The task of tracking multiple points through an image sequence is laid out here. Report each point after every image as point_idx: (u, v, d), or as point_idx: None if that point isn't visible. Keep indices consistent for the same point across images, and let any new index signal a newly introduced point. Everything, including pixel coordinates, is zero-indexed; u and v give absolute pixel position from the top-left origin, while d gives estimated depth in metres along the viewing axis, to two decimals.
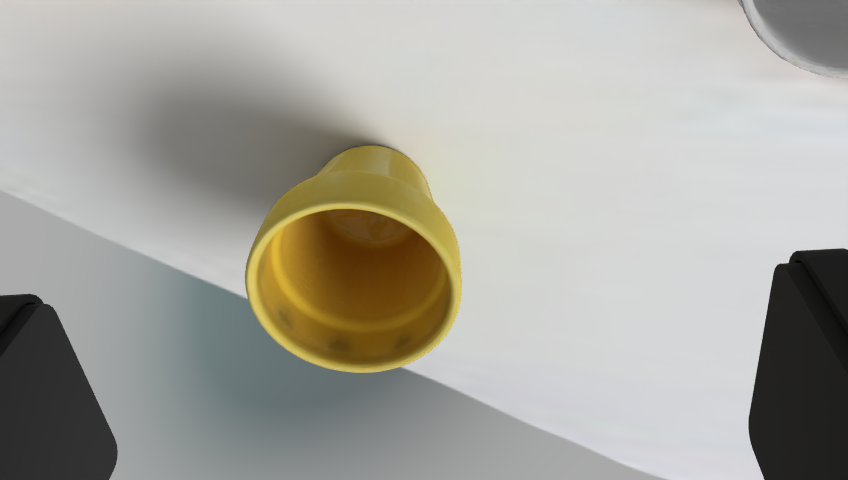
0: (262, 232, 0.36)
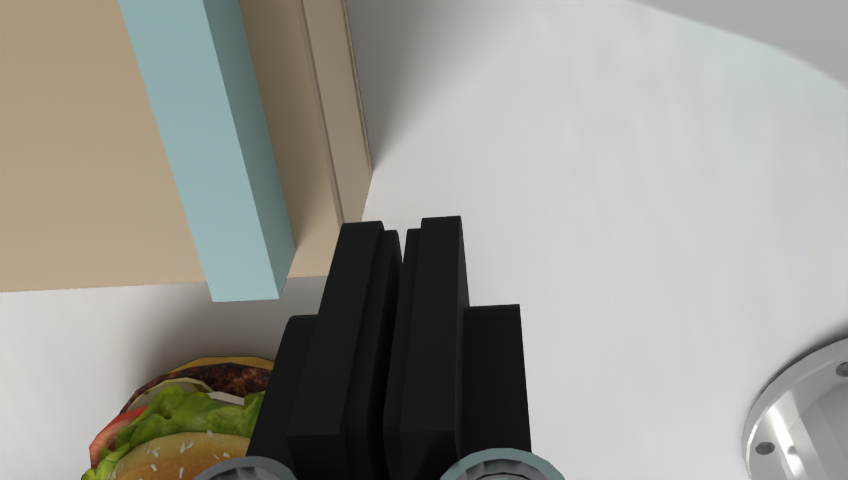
0: None
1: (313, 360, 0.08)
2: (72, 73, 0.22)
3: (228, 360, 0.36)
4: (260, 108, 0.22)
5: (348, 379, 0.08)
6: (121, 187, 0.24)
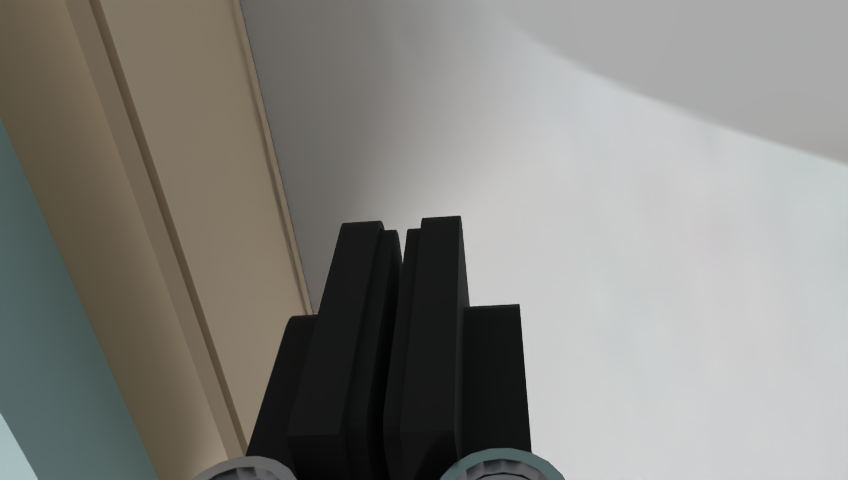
0: None
1: (313, 360, 0.08)
2: None
3: None
4: (92, 352, 0.13)
5: (348, 379, 0.08)
6: None
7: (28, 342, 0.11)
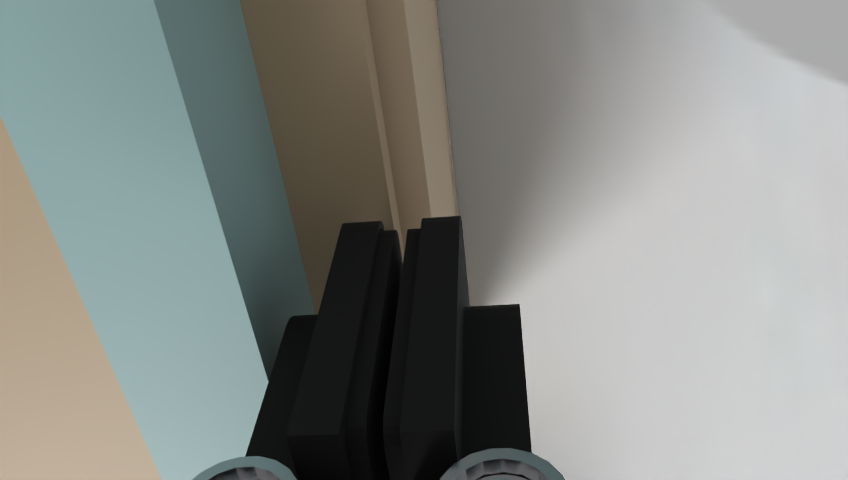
0: None
1: (314, 360, 0.08)
2: None
3: None
4: None
5: (348, 379, 0.08)
6: (83, 441, 0.15)
7: None
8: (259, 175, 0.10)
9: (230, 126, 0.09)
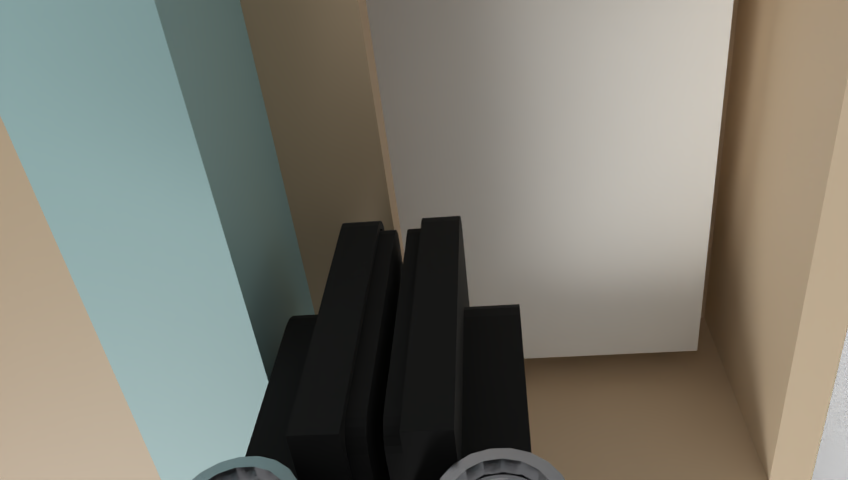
0: None
1: (313, 360, 0.08)
2: None
3: None
4: None
5: (349, 380, 0.08)
6: (83, 440, 0.15)
7: None
8: (259, 175, 0.10)
9: (231, 125, 0.09)
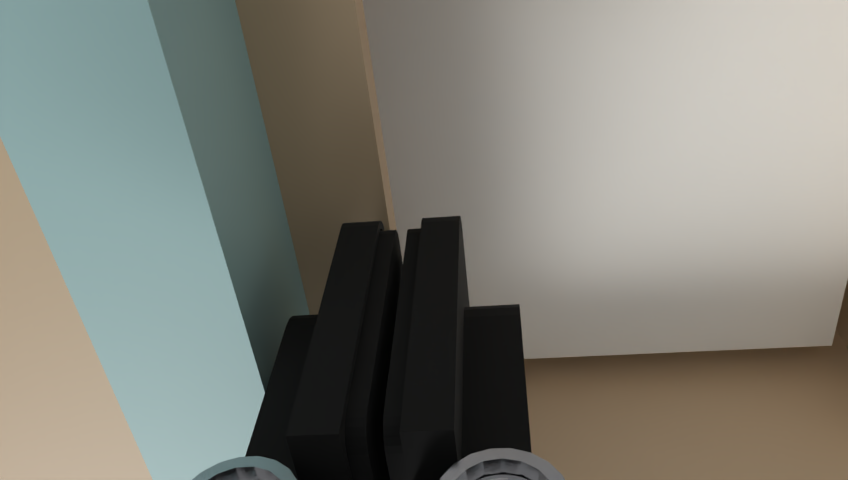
0: None
1: (313, 360, 0.08)
2: None
3: None
4: None
5: (348, 379, 0.08)
6: (75, 440, 0.14)
7: (279, 330, 0.11)
8: (253, 173, 0.10)
9: (224, 122, 0.09)
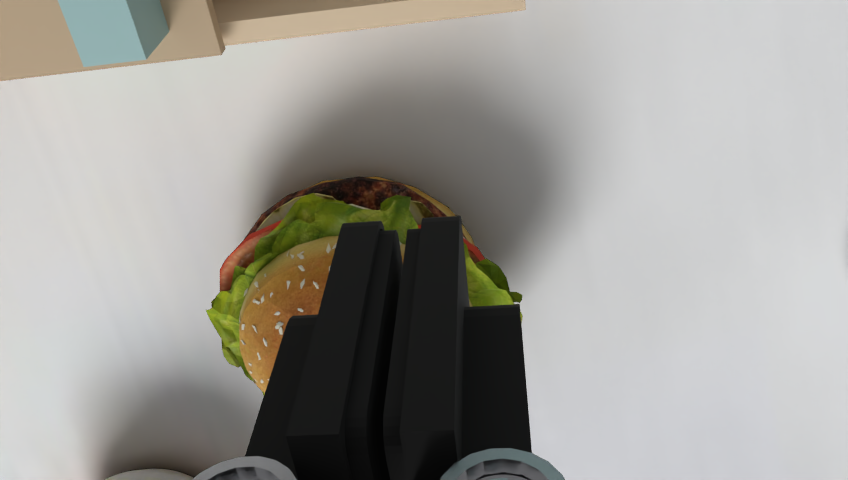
0: None
1: (313, 360, 0.08)
2: None
3: None
4: None
5: (348, 380, 0.08)
6: None
7: None
8: None
9: None
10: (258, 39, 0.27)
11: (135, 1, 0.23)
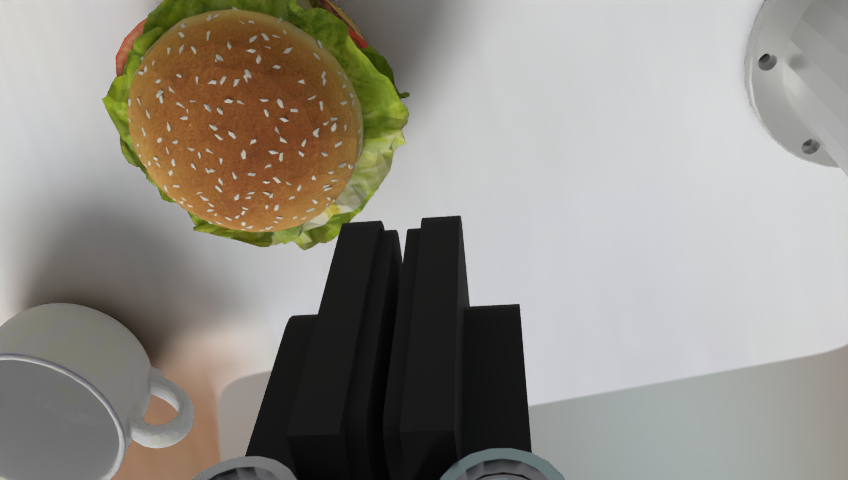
0: None
1: (313, 360, 0.08)
2: None
3: None
4: None
5: (348, 379, 0.08)
6: None
7: None
8: None
9: None
10: None
11: None
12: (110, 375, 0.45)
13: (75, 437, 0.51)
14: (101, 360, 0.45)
